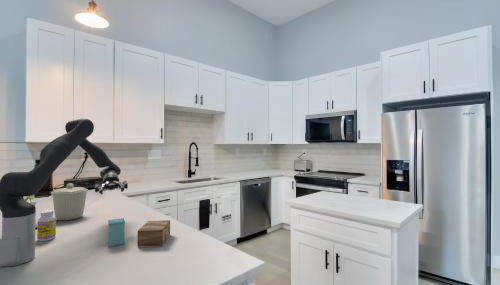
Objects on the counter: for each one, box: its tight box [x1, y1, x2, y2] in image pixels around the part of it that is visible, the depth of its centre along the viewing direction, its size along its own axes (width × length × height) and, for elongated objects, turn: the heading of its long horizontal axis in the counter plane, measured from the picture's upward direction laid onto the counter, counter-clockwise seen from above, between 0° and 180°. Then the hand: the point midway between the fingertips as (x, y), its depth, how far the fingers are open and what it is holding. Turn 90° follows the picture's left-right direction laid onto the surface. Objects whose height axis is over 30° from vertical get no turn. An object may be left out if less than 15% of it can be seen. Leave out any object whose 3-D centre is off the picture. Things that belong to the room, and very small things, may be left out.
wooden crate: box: [136, 220, 171, 248], centre depth 112 cm, size 14×10×7 cm
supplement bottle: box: [36, 209, 57, 242], centre depth 115 cm, size 7×7×13 cm
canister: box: [50, 182, 89, 221], centre depth 149 cm, size 18×18×21 cm
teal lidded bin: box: [107, 217, 126, 248], centre depth 109 cm, size 6×6×10 cm
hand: (112, 191), depth 118 cm, fingers open, 8 cm apart
